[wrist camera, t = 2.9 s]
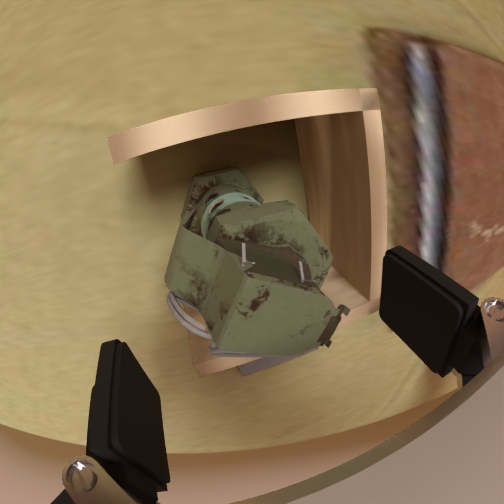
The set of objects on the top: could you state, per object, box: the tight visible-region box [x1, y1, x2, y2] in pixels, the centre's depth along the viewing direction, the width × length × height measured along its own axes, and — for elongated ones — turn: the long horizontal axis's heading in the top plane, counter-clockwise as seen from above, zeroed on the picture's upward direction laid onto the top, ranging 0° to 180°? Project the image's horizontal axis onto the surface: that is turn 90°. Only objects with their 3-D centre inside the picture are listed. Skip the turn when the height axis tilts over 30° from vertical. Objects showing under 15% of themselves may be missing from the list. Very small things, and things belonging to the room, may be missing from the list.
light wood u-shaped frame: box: [107, 88, 387, 377], centre depth 19 cm, size 13×14×9 cm
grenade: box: [165, 167, 351, 357], centre depth 16 cm, size 7×7×15 cm
